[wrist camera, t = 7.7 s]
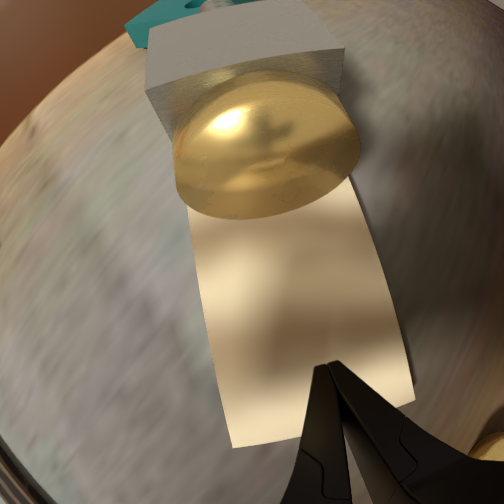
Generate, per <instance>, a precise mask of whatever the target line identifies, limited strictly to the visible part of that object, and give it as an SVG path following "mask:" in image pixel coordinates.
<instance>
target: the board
mask: <svg viewBox="0 0 504 504" xmlns="http://www.w3.org/2000/svg"><path fill="white" fill-rule="evenodd" d="M187 208H188V216H189V223H190V230H191V237H192V244H193V251H194V257H195V264H196V270H197V276H198V282H199V288H200V294H201V300H202V305H203V311H204V317H205V322H206V327H207V333H208V338H209V343H210V348H211V353H212V358H213V363H214V368H215V373H216V377H217V382H218V386H219V391H220V396H221V400H222V404H223V409H224V413H225V417H226V422H227V426H228V430H229V434H230V438H231V442H232V446H233V448H238V447H245V446H252V445H258V444H264V443H270V442H275V441H280V440H285V439H290V438H295V437H300V436H301V435H302V430H303V425H304V420H305V414H306V409H307V404H308V398H309V392H310V386H311V380H312V374H313V368H314V366H316V365H320V364H324V363H325V364H327V363H328V362H331V361H334V360H339V361H341V362H342V363H343V364H344V365H345V366H346V367H348V368H349V369H350V370H351V371H352V372H354V373H355V374H356V375H357V376H358V377H359V378H361V379H362V380H363V381H364V382H365V383H367V384H368V385H369V386H370V387H371V388H373V389H374V390H375V391H376V392H377V393H379V394H380V395H381V396H382V397H383V398H385V399H386V400H387V401H388V402H389V403H391V404H392V405H393V406H394V407H395V408H396V407H399V406H401V405H404V404H406V403H409V402H411V401H414V400H415V396H414V390H413V385H412V380H411V375H410V371H409V366H408V361H407V357H406V352H405V348H404V344H403V340H402V336H401V332H400V328H399V324H398V320H397V317H396V313H395V309H394V306H393V302H392V299H391V295H390V292H389V289H388V285H387V282H386V279H385V276H384V273H383V269H382V266H381V263H380V260H379V257H378V254H377V251H376V248H375V246H374V243H373V240H372V237H371V234H370V231H369V229H368V226H367V223H366V221H365V218H364V215H363V213H362V210H361V207H360V205H359V202H358V200H357V197H356V195H355V192H354V190H353V187H352V185H351V183H350V180H349V178H348V177H347V178H346V179H345V180H344V181H343V182H342V183H341V184H340V185H339V186H337V187H336V188H335V189H333V190H332V191H331V192H329V193H328V194H326V195H325V196H323V197H321V198H320V199H318V200H316V201H314V202H312V203H310V204H308V205H305V206H303V207H300V208H298V209H295V210H292V211H289V212H286V213H283V214H279V215H275V216H270V217H264V218H258V219H248V220H229V219H220V218H215V217H211V216H207V215H204V214H202V213H199V212H197V211H195V210H193V209H192V208H190V207H189V206H188V205H187Z"/></svg>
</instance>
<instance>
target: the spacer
mask: <svg viewBox="0 0 504 504" xmlns="http://www.w3.org/2000/svg"><path fill="white" fill-rule="evenodd" d="M467 456H469V457H472V458H475V459H481V460H494V461H504V432H494V433H491V434H489V435H487V436H485V437H484V438H483V439H481V440H480V441H479V442H478V443H477V444H476V445H475V446H474V447H473V448H472V449H471V451H470V452H469V453H468V455H467Z"/></svg>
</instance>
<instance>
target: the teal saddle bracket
mask: <svg viewBox="0 0 504 504" xmlns="http://www.w3.org/2000/svg"><path fill="white" fill-rule="evenodd" d="M205 1H207V0H159V1H158V2H156V3H155V4H153V5H152V6H150V7H149V8H147V9H146V10H144V11H143V12H141V13H140V14H139V15H137V16H136V17H135V18H133V19H132V20H130V21H129V22H128V23H126V24H125V25H124V26H125V28H126V30H127V32H128V34H129V35H130V37H131V39H132V41H133V43H134V44H135V46H136V48H148V38H149V29H150V28H153V27H155V26H158V25H161V24H164V23H167V22H171V21H174V20H177V19H180V18H184V17H187V16H191V15H194V14H198V10H199V8H200V6H201V5H202V4H203V3H204V2H205ZM232 1H233V2H234V3H235V4H236V5H238V4H244V3H249V2H256V1H262V0H232Z"/></svg>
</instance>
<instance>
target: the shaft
mask: <svg viewBox="0 0 504 504" xmlns="http://www.w3.org/2000/svg"><path fill="white" fill-rule="evenodd" d="M233 5H236V4H235V3H234V2H233V1H232V0H207V1H205V2H204V3H203V4H202V5H201V6H200V8H199V10H198V13H202V12H206V11H210V10H214V9H219V8H223V7H228V6H233ZM172 149H173V161H174V171H175V182H176V188H177V192H178V194H179V196H180V198H181V199H182V200H183V201H184V202H185V204H187V205H188V206H189V207H190V208H192V209H193V210H195V211H197V212H199V213H202V214H204V215H207V216H211V217H215V218H220V219H229V220H248V219H258V218H264V217H270V216H275V215H279V214H283V213H286V212H289V211H292V210H295V209H298V208H300V207H303V206H305V205H308V204H310V203H312V202H314V201H316V200H318V199H320V198H321V197H323V196H325V195H326V194H328V193H329V192H331V191H332V190H333V189H335V188H336V187H337V186H339V185H340V184H341V183H342V182H343V181H344V180H345V179H346V178H347V177H348V176H349V174H350V173H351V172H352V170H353V169H354V167H355V166H356V164H357V161H358V159H359V156H360V151H361V142H360V138H359V135H358V133H357V131H356V129H355V127H354V125H353V123H352V122H351V120H350V118H349V116H348V114H347V113H346V111H345V109H344V107H343V106H342V104H341V102H340V100H339V99H338V97H337V96H336V94H335V93H334V92H333V91H332V90H331V89H330V88H329V87H328V86H326V85H325V84H324V83H322V82H321V81H319V80H317V79H315V78H313V77H310V76H308V75H305V74H301V73H297V72H292V71H282V70H268V71H259V72H252V73H248V74H244V75H240V76H237V77H234V78H231V79H229V80H226V81H224V82H222V83H220V84H218V85H216V86H214V87H213V88H211V89H209V90H208V91H206V92H205V93H204V94H202V95H201V96H199V97H198V98H197V99H196V100H195V101H194V102H193V103H192V104H191V105H190V106H189V107H188V108H187V110H186V111H185V112H184V113H183V115H182V116H181V118H180V120H179V121H178V123H177V126H176V128H175V131H174V135H173V140H172Z"/></svg>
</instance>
